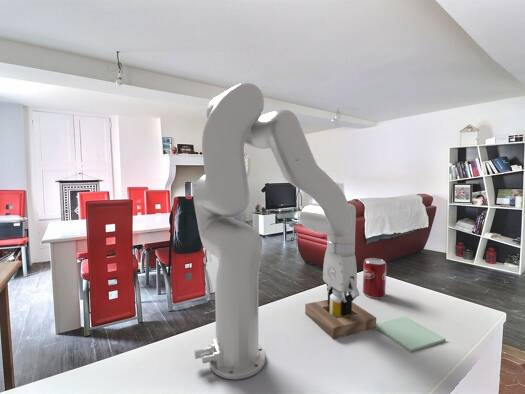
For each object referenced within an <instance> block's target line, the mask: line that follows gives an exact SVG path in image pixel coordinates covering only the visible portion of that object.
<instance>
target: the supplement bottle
mask: <svg viewBox="0 0 525 394" xmlns="http://www.w3.org/2000/svg"><path fill="white" fill-rule="evenodd" d="M347 295H348V292H346V296H347ZM341 301H343V299H342V293H341V292H339V291H338V290H336V289H335V288H333V293H332V294H331V295H330V311H329V313H330V314H331V315H332V316H334V317H335V318H336V319H337V318H342V317H346V316H349V315H344V316H342V315H341Z"/></svg>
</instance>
